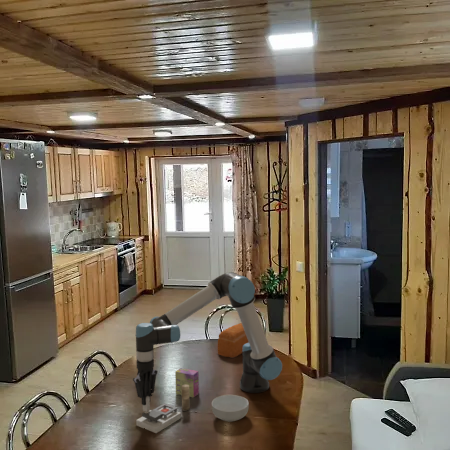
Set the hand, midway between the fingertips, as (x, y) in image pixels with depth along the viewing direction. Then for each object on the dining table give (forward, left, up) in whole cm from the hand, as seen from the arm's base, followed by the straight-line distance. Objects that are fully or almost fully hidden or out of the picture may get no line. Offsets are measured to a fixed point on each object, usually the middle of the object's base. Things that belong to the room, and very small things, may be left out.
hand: (146, 410), depth 213 cm
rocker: (-3, 0, -1) cm, 4 cm away
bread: (+19, -98, -6) cm, 100 cm away
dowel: (-5, -20, -6) cm, 22 cm away
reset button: (-3, -8, -4) cm, 10 cm away
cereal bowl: (-28, -25, -6) cm, 38 cm away
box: (+4, -33, -6) cm, 34 cm away
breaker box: (-3, -4, -6) cm, 8 cm away
